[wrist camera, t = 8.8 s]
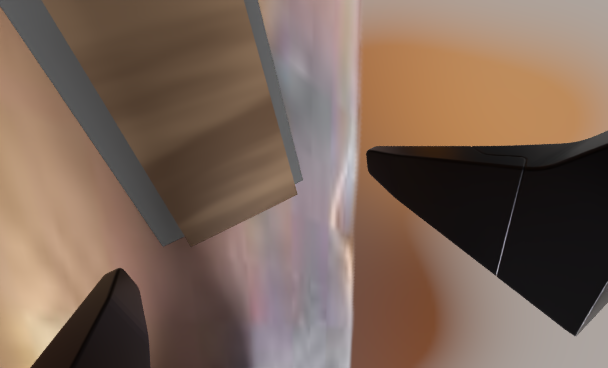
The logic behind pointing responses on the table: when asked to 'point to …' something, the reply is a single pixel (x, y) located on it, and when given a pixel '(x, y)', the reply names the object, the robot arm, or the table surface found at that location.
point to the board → (186, 103)
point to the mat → (98, 121)
